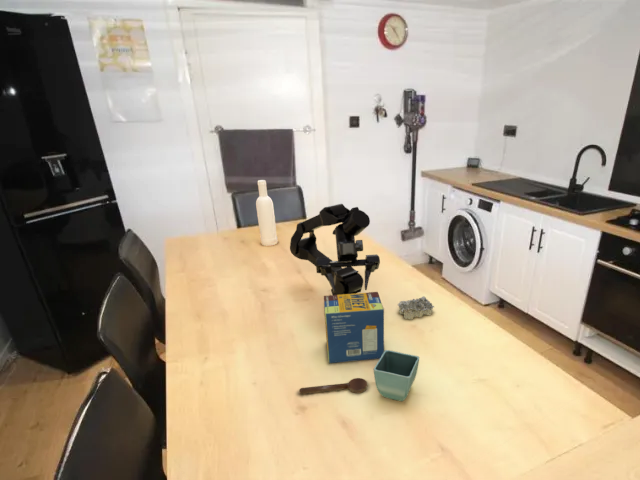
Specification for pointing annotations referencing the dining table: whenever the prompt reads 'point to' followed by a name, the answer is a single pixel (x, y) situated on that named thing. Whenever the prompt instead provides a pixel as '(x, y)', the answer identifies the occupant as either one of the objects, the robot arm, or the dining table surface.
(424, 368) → the dining table surface
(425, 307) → the egg carton
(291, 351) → the dining table surface
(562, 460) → the dining table surface
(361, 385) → the wooden spoon
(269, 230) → the bottle
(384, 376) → the flower pot
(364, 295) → the protein box
